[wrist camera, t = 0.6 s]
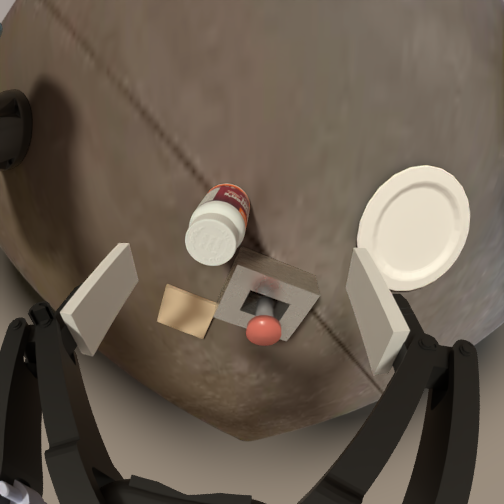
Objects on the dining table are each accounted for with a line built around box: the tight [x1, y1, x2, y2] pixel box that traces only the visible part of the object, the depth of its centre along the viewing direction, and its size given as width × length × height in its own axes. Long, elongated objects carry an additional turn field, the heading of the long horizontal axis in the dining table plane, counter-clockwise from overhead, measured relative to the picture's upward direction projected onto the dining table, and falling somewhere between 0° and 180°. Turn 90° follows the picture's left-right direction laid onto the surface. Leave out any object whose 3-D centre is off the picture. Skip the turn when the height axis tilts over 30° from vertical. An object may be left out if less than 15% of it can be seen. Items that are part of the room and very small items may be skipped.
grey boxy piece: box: [213, 246, 320, 341], centre depth 40 cm, size 12×10×5 cm
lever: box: [246, 296, 281, 346], centre depth 36 cm, size 4×4×6 cm
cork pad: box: [157, 284, 217, 339], centre depth 46 cm, size 9×9×1 cm
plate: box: [357, 165, 470, 291], centre depth 36 cm, size 21×21×2 cm
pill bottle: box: [185, 184, 250, 266], centre depth 31 cm, size 6×6×11 cm
